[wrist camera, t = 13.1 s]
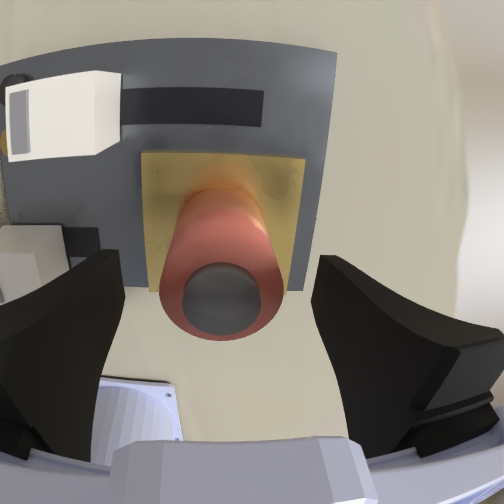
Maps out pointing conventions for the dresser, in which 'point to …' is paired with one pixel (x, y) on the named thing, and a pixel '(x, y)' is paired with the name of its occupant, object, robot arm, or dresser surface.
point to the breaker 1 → (63, 116)
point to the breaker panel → (183, 147)
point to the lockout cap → (220, 268)
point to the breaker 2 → (29, 258)
